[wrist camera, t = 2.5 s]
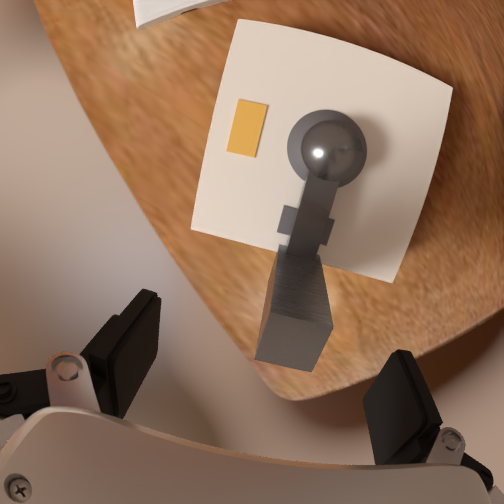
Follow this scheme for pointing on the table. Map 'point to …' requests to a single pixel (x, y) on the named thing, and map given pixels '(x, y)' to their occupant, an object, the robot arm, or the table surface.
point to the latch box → (292, 131)
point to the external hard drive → (165, 10)
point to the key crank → (307, 254)
